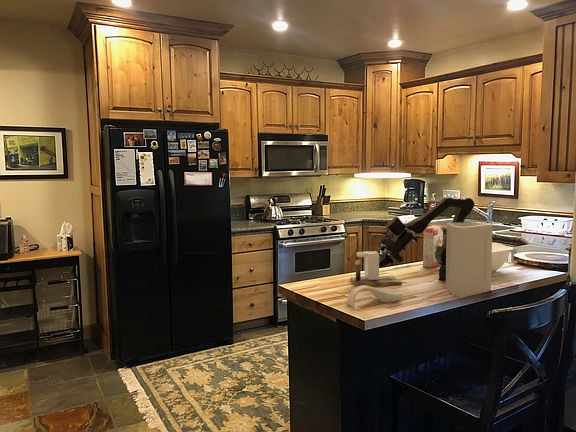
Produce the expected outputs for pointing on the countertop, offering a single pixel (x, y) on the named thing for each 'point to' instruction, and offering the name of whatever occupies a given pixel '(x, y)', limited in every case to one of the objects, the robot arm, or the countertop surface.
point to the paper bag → (468, 258)
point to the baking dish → (499, 255)
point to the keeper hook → (358, 269)
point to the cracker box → (431, 245)
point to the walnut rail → (376, 281)
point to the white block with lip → (371, 264)
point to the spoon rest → (375, 294)
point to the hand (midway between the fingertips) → (377, 267)
